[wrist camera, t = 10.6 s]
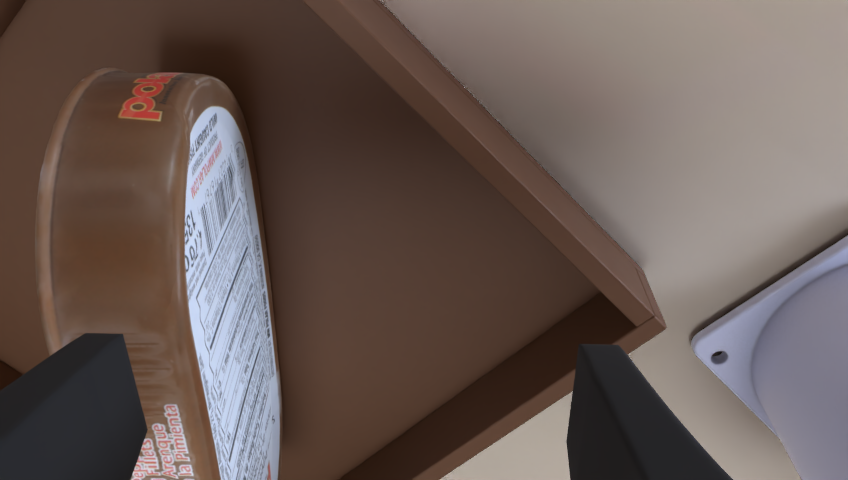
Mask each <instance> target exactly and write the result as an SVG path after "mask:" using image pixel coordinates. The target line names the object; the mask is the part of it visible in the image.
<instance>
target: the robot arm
mask: <svg viewBox="0 0 848 480" xmlns="http://www.w3.org/2000/svg"><path fill="white" fill-rule="evenodd" d="M691 346H692V349H693V351H694V353H695V354H696V356H697V357H698V358H699V359H700V360H701V361H702V362H703V363H704V364H705V365H706V366H707V367H708V368H709V369H710V370H711V371H712V372H713V373H714V374H715V375H716V376H717V377H718V378H719V379H720V380H721V381H722V382H723V383H724V384H725V385H726V386H727V387H728V388H729V389H730V390H731V391H732V392H733V393H734V394H735V395H736V396H737V397H738V398H739V399H740V400H741V401H742V402H743V403H744V404H745V405H746V406H747V407H748V408H749V409H750V410H751V411H752V412H753V413H754V414H755V415H756V416H757V417H758V418H759V419H760V420H761V421H762V422H763V423H764V424H765V425H766V426H767V427H768V428H769V429H770V430H771V431H772V432H773V433H774V434H775V435H776V436H777V437H778V438H779V439H780V440H781V442H782V444H783V446H784V448H785V450H786V452H787V454H788V455H789V457H790V459H791V461H792V463H793V465H794V467H795V469H796V471H797V472H798V474H799V476H800V478H801V480H848V236H846V237H844V238H843V239H841V240H840V241H838V242H837V243H835V244H834V245H832V246H831V247H829V248H828V249H826V250H824V251H823V252H821V253H820V254H818V255H817V256H815V257H814V258H812V259H811V260H809V261H808V262H806V263H804V264H803V265H801V266H800V267H798V268H797V269H795V270H794V271H792V272H791V273H789V274H787V275H786V276H784V277H783V278H781V279H780V280H778V281H777V282H775V283H774V284H772V285H771V286H769V287H767V288H766V289H764V290H763V291H761V292H760V293H758V294H757V295H755V296H754V297H752V298H751V299H749V300H747V301H746V302H744V303H743V304H741V305H740V306H738V307H737V308H735V309H734V310H732V311H730V312H729V313H727V314H726V315H724V316H723V317H721V318H720V319H718V320H717V321H715V322H714V323H712V324H710V325H709V326H707V327H706V328H704V329H703V330H701V331H700V332H698V333H697V334H696V335H695V336H694V337H693V339H692V341H691ZM718 351H723V353H721V354H720V355H718V356H712V355H713V354H714V353H715V352H718ZM147 430H148V429H147V425H146V421H145V417H144V413H143V410H142V406H141V402H140V398H139V394H138V390H137V386H136V382H135V379H134V375H133V371H132V367H131V363H130V359H129V355H128V352H127V348H126V344H125V340H124V336H123V334H109V333H85V334H83V335H81V336H80V337H78V338H77V339H75V340H73V341H72V342H70V343H69V344H67V345H66V346H64V347H63V348H61V349H60V350H58V351H57V352H55V353H54V354H52V355H51V356H49V357H48V358H46V359H45V360H43V361H42V362H41V363H39V364H38V365H36V366H35V367H33V368H32V369H31V370H29V371H28V372H26V373H25V374H23V375H22V376H21V377H19V378H18V379H16V380H15V381H13V382H12V383H10V384H9V385H8V386H6V387H5V388H3V389H2V390H0V480H131V477H132V474H133V471H134V469H135V466H136V463H137V461H138V458H139V455H140V451H141V448H142V445H143V442H144V439H145V436H146V433H147ZM567 450H568V460H569V469H570V478H571V480H733V479H732V478H731V477H730V476H729V475H728V474H727V473H726V472H725V471H724V470H723V469H722V468H721V467H720V466H719V465H718V464H717V463H716V461H715V460H714V459H713V458H712V457H711V456H710V455H709V454H708V453H707V452H706V451H705V449H704V448H703V447H702V446H701V445H700V444H699V443H698V441H697V440H696V439H695V438H694V437H693V436H692V435H691V433H690V432H689V431H688V430H687V429H686V428H685V426H684V425H683V424H682V423H681V422H680V421H679V420H678V418H677V417H676V416H675V415H674V414H673V412H672V411H671V410H670V409H669V408H668V406H667V405H666V404H665V403H664V401H663V400H662V399H661V398H660V396H659V395H658V394H657V393H656V391H655V390H654V389H653V388H652V386H651V385H650V384H649V383H648V381H647V380H646V379H645V377H644V376H643V375H642V373H641V372H640V371H639V370H638V368H637V367H636V366H635V364H634V363H633V362H632V360H631V359H630V358H629V356H628V355H627V354H626V352H625V351H624V350H623V349H622V348H621V347H620V346H619V345H603V344H579V346H578V354H577V362H576V370H575V378H574V386H573V394H572V402H571V410H570V418H569V426H568V434H567Z"/></svg>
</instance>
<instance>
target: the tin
mask: <svg viewBox="0 0 848 480" xmlns="http://www.w3.org/2000/svg"><path fill="white" fill-rule="evenodd" d="M35 267H36V285H37V295H38V301H39V311H40V316H41V322H42V328H43V331H44V336H45V340H46V344H47V348H48V352H49V355H50V356H51V355H52V354H54V353H55V352H57V351H58V350H60V349H61V348H63V347H64V346H66V345H67V344H69V343H70V342H72V341H73V340H75V339H77V338H78V337H80V336H81V335H83V334H85V333H109V334H123V336H124V340H125V344H126V348H127V352H128V355H129V359H130V363H131V367H132V371H133V375H134V379H135V382H136V386H137V390H138V394H139V398H140V402H141V406H142V410H143V413H144V417H145V421H146V425H147V429H148V430H147V433H146V436H145V439H144V442H143V445H142V448H141V451H140V455H139V458H138V461H137V463H136V466H135V469H134V471H133V474H132V477H131V480H280V475H281V458H282V397H281V381H280V370H279V361H278V353H277V342H276V331H275V322H274V312H273V301H272V291H271V283H270V274H269V265H268V257H267V249H266V241H265V233H264V225H263V217H262V209H261V201H260V193H259V185H258V177H257V171H256V166H255V160H254V155H253V149H252V144H251V140H250V136H249V132H248V128H247V124H246V121H245V118H244V115H243V112H242V110H241V108H240V106H239V104H238V101H237V99H236V98H235V96H234V94H233V93H232V92H231V90H230V89H229V88H228V87H227V85H226V84H225V83H224V82H222V81H221V80H219V79H217V78H215V77H212V76H209V75H205V74H195V73H169V72H160V73H128V72H126V71H124V70H121V69H117V68H101V69H99V70H96V71H93V72H91V73H89V74H87V75H86V76H85V77H84V78H83V79H81V80H80V81H79V82H78V84H77V85H76V86H75V87H74V88H73V89H72V91H71V92H70V94H69V95H68V97H67V98H66V100H65V101H64V103H63V105H62V107H61V109H60V111H59V114H58V117H57V120H56V121H55V123H54V125H53V129H52V133H51V136H50V139H49V142H48V145H47V148H46V151H45V157H44V161H43V165H42V168H41V172H40V180H39V187H38V195H37V207H36V224H35Z"/></svg>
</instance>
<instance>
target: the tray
mask: <svg viewBox="0 0 848 480" xmlns="http://www.w3.org/2000/svg"><path fill="white" fill-rule="evenodd" d="M101 68H117V69H121V70H124V71H126V72H128V73H160V72H169V73H195V74H205V75H209V76H212V77H215V78H217V79H219V80H221V81H222V82H224V83H225V84H226V85H227V87H228V88H229V89H230V90H231V92H232V93H233V94H234V96H235V98H236V99H237V101H238V104H239V106H240V108H241V110H242V112H243V115H244V118H245V121H246V124H247V128H248V132H249V136H250V140H251V144H252V149H253V155H254V160H255V166H256V171H257V177H258V185H259V193H260V201H261V209H262V217H263V225H264V233H265V241H266V249H267V257H268V265H269V274H270V283H271V291H272V301H273V312H274V322H275V331H276V342H277V353H278V361H279V370H280V381H281V397H282V458H281V475H280V480H439V479H441V478H442V477H444V476H445V475H447V474H448V473H450V472H451V471H453V470H454V469H456V468H457V467H459V466H460V465H462V464H463V463H465V462H466V461H468V460H469V459H471V458H472V457H474V456H475V455H477V454H478V453H480V452H481V451H483V450H484V449H486V448H487V447H489V446H490V445H492V444H493V443H495V442H496V441H498V440H499V439H501V438H502V437H504V436H505V435H507V434H508V433H510V432H511V431H513V430H514V429H516V428H517V427H519V426H520V425H522V424H523V423H525V422H526V421H528V420H529V419H531V418H532V417H534V416H535V415H537V414H538V413H540V412H541V411H543V410H545V409H546V408H548V407H549V406H551V405H552V404H554V403H555V402H557V401H558V400H560V399H561V398H563V397H564V396H566V395H567V394H569V393H570V392H572V391H573V386H574V378H575V370H576V362H577V354H578V346H579V344H603V345H619V346H620V347H621V348H622V349H623V350H624V351H625V352H626V354H629V353H630V352H632V351H633V350H635V349H636V348H638V347H639V346H641V345H642V344H644V343H645V342H647V341H648V340H650V339H651V338H653V337H654V336H656V335H657V334H659V333H660V332H662V331H663V330H665V329H666V328H667V327H666V324H665V322H664V319H663V317H662V314H661V312H660V310H659V307H658V305H657V303H656V300H655V298H654V296H653V293H652V291H651V288H650V286H649V284H648V281H647V279H646V276H645V274H644V271H643V270H642V269H641V268H640V267H639V266H638V265H637V264H636V263H635V262H634V261H633V259H632V258H631V257H630V256H629V255H628V254H627V253H626V252H625V251H624V250H623V249H622V248H621V247H620V246H619V245H618V244H617V243H616V242H615V241H614V240H613V239H612V238H611V237H610V236H609V235H608V234H607V233H606V232H605V231H604V230H603V229H602V228H601V227H600V226H599V225H598V224H597V223H596V222H595V221H594V220H593V219H592V218H591V217H590V216H589V215H588V214H587V213H586V212H585V210H584V209H583V208H582V207H581V206H580V205H579V204H578V203H577V202H576V201H575V200H574V199H573V198H572V197H571V196H570V195H569V194H568V193H567V192H566V191H565V190H564V189H563V188H562V187H561V186H560V185H559V184H558V183H557V182H556V181H555V180H554V179H553V178H552V177H551V176H550V175H549V174H548V173H547V172H546V171H545V170H544V169H543V168H542V167H541V166H540V165H539V164H538V163H537V161H536V160H535V159H534V158H533V157H532V156H531V155H530V154H529V153H528V152H527V151H526V150H525V149H524V148H523V147H522V146H521V145H520V144H519V143H518V142H517V141H516V140H515V139H514V138H513V137H512V136H511V135H510V134H509V133H508V132H507V131H506V130H505V129H504V128H503V127H502V126H501V125H500V124H499V123H498V122H497V121H496V120H495V119H494V118H493V117H492V116H491V115H490V114H489V113H488V111H487V110H486V109H485V108H484V107H483V106H482V105H481V104H480V103H479V102H478V101H477V100H476V99H475V98H474V97H473V96H472V95H471V94H470V93H469V92H468V91H467V90H466V89H465V88H464V87H463V86H462V85H461V84H460V83H459V82H458V81H457V80H456V79H455V78H454V77H453V76H452V75H451V74H450V73H449V72H448V71H447V70H446V69H445V68H444V67H443V66H442V65H441V64H440V62H439V61H438V60H437V59H436V58H435V57H434V56H433V55H432V54H431V53H430V52H429V51H428V50H427V49H426V48H425V47H424V46H423V45H422V44H421V43H420V42H419V41H418V40H417V39H416V38H415V37H414V36H413V35H412V34H411V33H410V32H409V31H408V30H407V29H406V28H405V27H404V26H403V25H402V24H401V23H400V22H399V21H398V20H397V19H396V18H395V17H394V16H393V15H392V13H391V12H390V11H389V10H388V9H387V8H386V7H385V6H384V5H383V4H382V3H381V2H380V1H379V0H0V390H2V389H3V388H5V387H6V386H8V385H9V384H10V383H12V382H13V381H15V380H16V379H18V378H19V377H21V376H22V375H23V374H25V373H26V372H28V371H29V370H31V369H32V368H33V367H35V366H36V365H38V364H39V363H41V362H42V361H43V360H45V359H46V358H48V357H49V356H50V355H49V352H48V348H47V344H46V340H45V336H44V331H43V328H42V322H41V316H40V311H39V301H38V295H37V285H36V267H35V224H36V207H37V195H38V187H39V180H40V172H41V168H42V165H43V161H44V157H45V151H46V148H47V145H48V142H49V139H50V136H51V133H52V129H53V125H54V123H55V121H56V120H57V117H58V114H59V111H60V109H61V107H62V105H63V103H64V101H65V100H66V98H67V97H68V95H69V94H70V92H71V91H72V89H73V88H74V87H75V86H76V85H77V84H78V82H79V81H80V80H81V79H83V78H84V77H85V76H86V75H87V74H89V73H91V72H93V71H96V70H99V69H101Z"/></svg>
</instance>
